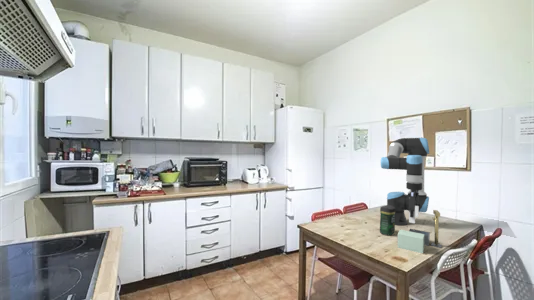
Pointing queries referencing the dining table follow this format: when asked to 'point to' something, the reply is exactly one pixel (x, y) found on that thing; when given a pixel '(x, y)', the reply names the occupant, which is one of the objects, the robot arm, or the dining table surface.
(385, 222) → the coffee jar
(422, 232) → the block
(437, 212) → the t key
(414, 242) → the mint green block
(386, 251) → the dining table surface
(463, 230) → the dining table surface
